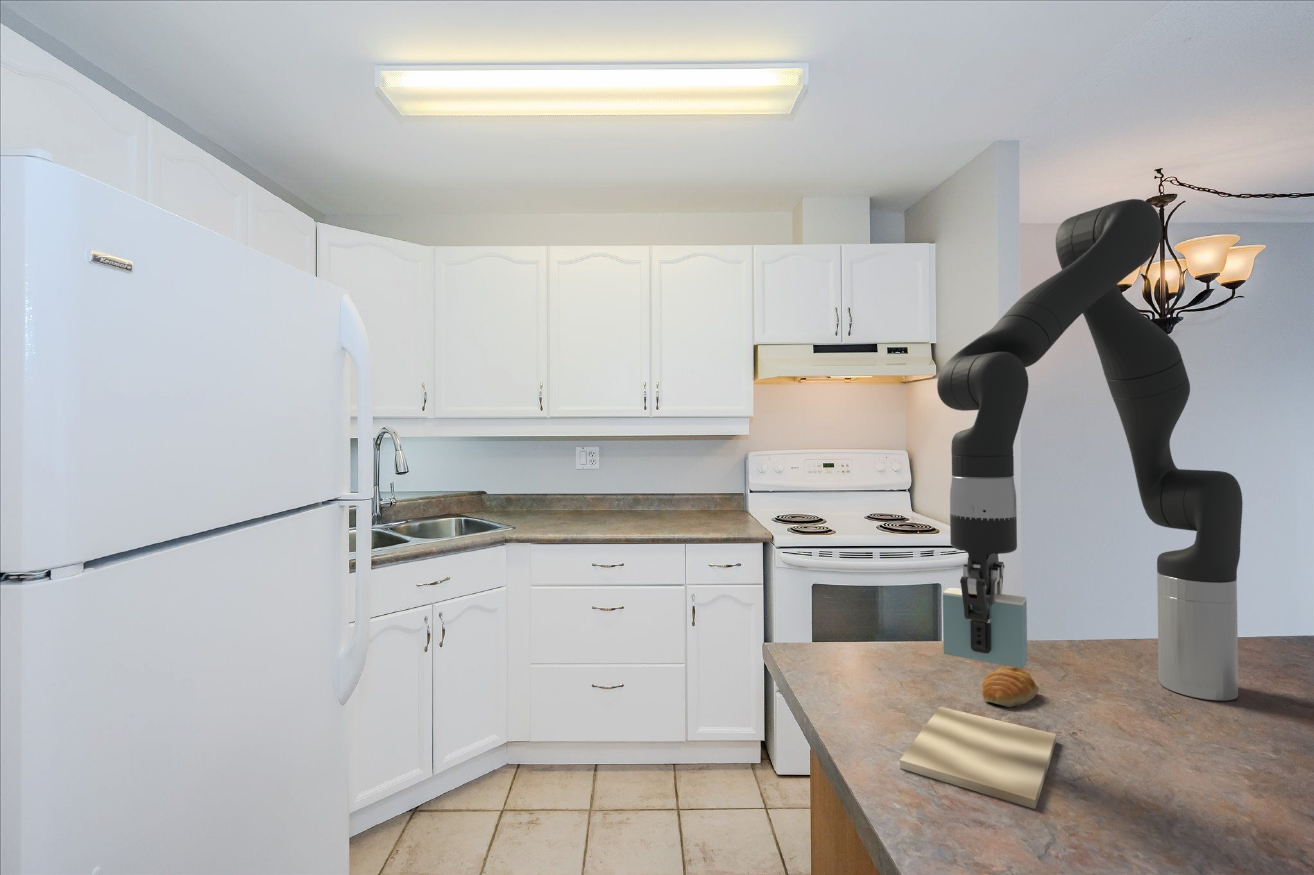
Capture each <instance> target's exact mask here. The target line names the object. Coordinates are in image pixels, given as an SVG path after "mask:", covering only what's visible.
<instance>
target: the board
mask: <svg viewBox="0 0 1314 875" xmlns="http://www.w3.org/2000/svg"><path fill="white" fill-rule="evenodd" d="M1056 744H1057V733H1053V732H1049V731H1045V730H1040V729H1036V728H1032V727H1028V726H1024V725H1019V724H1016V723H1011V722H1007V721H1002V720H997V719H994V718H990V717H985V716H980V715H977V714H973V713H968V712H964V711H960V710H956V709H951V708H947V707H944V706H943V707H942V706H939V707H938V708H937V709H936V711H935V712H934V714H933V715H932V716H931V718H930V719H929V720H928V721H927V723H926V724H925V726H924V727H923V728H922V730H921V731H920V732H919V733H918V735H917V736H916V738H915V739H914V740H913V742H912V743H911V744H910V746H909V747H908V748H907V750H906V751H905V752H904V753H903V755H902V756H901V758H900V759H899V769H902V770H904V771H908V772H912V773H915V774H918V775H921V776H924V777H928V778H931V779H934V780H937V781H940V782H943V783H948V784H949V785H950V784H951V785H953V786H954V785H955V786H958V787H960V788H964V789H968V790H971V791H974V792H977V793H981V794H984V795H986V796H990V797H994V798H996V799H1000V800H1003V801H1007V802H1011V803H1014V804H1016V805H1020V806H1023V807H1027V808H1030V809H1033V810H1036V809H1037V806H1038V802H1039V799H1040V796H1041V793H1042V790H1043V789H1042V788H1043V786H1044V782H1045V780H1046V776H1047V772H1048V770H1049V766H1050V764H1051V763H1050V762H1051V760H1052V758H1053V753H1054V750H1055V747H1056Z"/></svg>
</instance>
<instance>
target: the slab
mask: <svg viewBox="0 0 1314 875" xmlns="http://www.w3.org/2000/svg"><path fill="white" fill-rule="evenodd" d="M986 596H987V597H989V596H990V595H986ZM1027 603H1028V602H1027V597H1026V596H1020V595H1011V594H1003V593H1002V594H997V599H996V603H995V604H993V605H992V621H991V651H990V652H989V653H987V654H986V653H981V652H975V651H973V650H972V649H971V621H969V619H965V616H964V605H963V597H962V589H961V588H955V587H948V588H946V589H945V590H944V591H943V592H942V618H943V620H942V626H943V628H942V629H943V630H942V632H943V633H942V635H943V636H942V637H943V638H942V639H943V655H947V656H952V657H957V658H958V657H959V658H963V659H967V660H973V661H978V662H983V663H988V664H989V663H990V664H994V665H999V666H1004V667H1015V668H1020V669H1023V670H1024V668H1025V667H1026V665H1027V662H1028V626H1027V625H1028V623H1027V622H1028V618H1027V616H1028V614H1027V610H1028V608H1027V605H1028V604H1027ZM975 610H977V611H982V610H981V607H979V606H975Z"/></svg>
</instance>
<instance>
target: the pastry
mask: <svg viewBox="0 0 1314 875" xmlns="http://www.w3.org/2000/svg"><path fill="white" fill-rule="evenodd" d="M1039 691H1040V688H1039V686H1038V685H1037V684H1036V682H1035V680H1034V679H1033V677H1032V676H1031V675H1030V673H1029V672H1028V671H1027V670H1025V669H1024V668H1023V669H1020V668H1015V667H1010V666H1004V665H1001V667H1000V668H997V669H996V670H995V671H992V672H990V673H988V675H987V676H986V677H985V678H984V680H983V681H982V697H983V700H984V702H986V703H992V704H995V705H1000V706H1003V707H1007V708H1012V707H1014V706H1020V705H1021V706H1022V705H1027V703H1028V702H1030V701H1032V700H1033V699H1034V698H1036V696H1037V694H1038V692H1039Z"/></svg>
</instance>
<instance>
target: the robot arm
mask: <svg viewBox="0 0 1314 875" xmlns="http://www.w3.org/2000/svg"><path fill="white" fill-rule="evenodd" d="M1162 227H1163V226H1162V221H1161V218H1160V215H1159V213H1158V211H1157V210H1156V208H1155V207H1154V206H1153V205H1152V204H1151V202H1150V203H1149V202H1148V201H1146V200H1144V199H1138V198H1136V199H1135V198H1132V199H1131V198H1130V199H1124V200H1120V201H1119V200H1118V201H1116V202H1112V203H1110V204H1107V205H1104V206H1100V207H1097V208H1095V209H1091V210H1087V211H1084V212H1081V213H1079V214H1077V215H1073V216H1070V217H1068V218H1067V219H1065V220H1064V221H1063V222H1061V224H1060V225H1059V226H1058V229H1057V232H1056V236H1055V253H1056V257H1057V259H1058V262H1059V266H1060V268H1061V270H1060V271H1058V272H1057V273H1055V274H1054V275H1052V276H1050V277H1049V278H1047V279H1046V280H1043V281H1042V282H1041V283H1039V284H1038V285H1036V286H1035V287H1033V288H1032V289H1030V290H1029V291H1028V292H1027V293H1025V294H1024V295H1023V296H1022V297H1020V298H1019V299H1018V300H1017V301H1016V302H1015V303H1014V304H1013V305H1012V306H1010V308H1009V309H1008V310H1007V311H1006V312H1005V314H1003V315H1002V317H1001V318H1000V319H999V320H998V321H997V322H996V323H995V325H993V327H992V328H991V329H990V330H988V331H986V332H985V333H983V334H982V335H980V336H978V337H977V338H976V339H974V340H972V342H970V343H969V344H967V345H966V346H964V347H963V348H961V349H960V350H959V351H957V352H956V353H955V354H954V355H953V356H952V357H950V359H948V361H947V362H945V364H944V365H943V367H942V369H941V370H940V373H939V375H938V378H937V384H936V388H937V389H936V390H937V394H938V397H939V399H940V400H941V402H942V403H943V404H944V405H945V406H947V407H948V408H950V409H953V410H954V411H964V412H966V411H967V412H968V411H977V415H976V416H975V417H976V418H975V419H974V420H975V421H974V423H973V425H972V426H971V427H969V428H967V429H964V430H961V431H960V430H959V431H958V432H956V433H955V434H954V435H953V437H952V439H951V481H950V491H949V519H950V521H949V522H950V524H949V526H950V528H949V531H950V532H949V534H950V545H951V547H952V548H954V549H955V550H958V551H964V552H966V553H967V563H964V564H963V566H962V567H963V568H962V570H963V571H962V576H961V577H960V580H959V582H960V587H961V588H960V589H962V597H963V605H964V616H965V619H969V621H971V649H972V650H973V651H975V652H981V653H986V654H987V653H989V652H990V651H991V621H992V605H993V604H995V603H996V599H997V594H1003V588H1004V587H1003V583H1004V582H1003V581H1004V574H1005V573H1004V571H1005V570H1004V569H1005V563H1004V561H999V560H1000V559H999V555H1001V554H1002V555H1003V554H1010V553H1013V552H1015V551H1016V550H1017V549H1018V531H1017V529H1018V528H1017V527H1018V525H1017V524H1018V523H1017V521H1018V518H1017V517H1018V514H1017V492H1016V486H1015V478H1014V476H1015V473H1014V472H1015V470H1014V469H1015V468H1014V465H1015V464H1014V461H1015V459H1014V444H1015V440H1016V436H1017V433H1018V430H1019V426H1020V423H1021V419H1022V415H1023V412H1024V408H1025V406H1026V402H1027V398H1028V393H1029V386H1030V385H1029V376H1028V371H1027V369H1026V368H1028V367H1030V366H1032V365H1035V364H1036V363H1038V361H1040V360H1041V359H1042V357H1043V356H1044V355H1046V353H1047V352H1048V351H1049V350H1050V349H1051V348H1052V347H1053V345H1054V344H1055V343H1056V342H1057V340H1058V339H1060V337H1061V336H1062V335H1063V334H1064V332H1066V331H1067V329H1069V327H1070V326H1071V325H1073V323H1074V322H1075V321H1076V320H1077V319H1078V318H1079V317H1080V316H1081V315H1083V317H1084V319H1085V322H1086V325H1087V327H1088V329H1089V332H1090V334H1091V335H1090V336H1091V337H1092V340H1093V343H1094V346H1095V348H1096V351H1097V354H1098V356H1099V360H1100V363H1101V368H1102V371H1103V374H1104V377H1105V380H1106V383H1107V386H1108V389H1109V392H1110V394H1111V398H1112V399H1113V402H1114V405H1115V407H1116V410H1117V413H1118V416H1119V418H1120V421H1121V424H1122V427H1123V431H1124V433H1125V438H1126V440H1127V444H1128V447H1129V451H1130V456H1131V459H1132V464H1133V468H1134V474H1135V477H1136V482H1137V488H1138V493H1139V497H1140V501H1141V503H1142V507H1143V509H1144V512H1145V514H1146V515H1147V517H1148V519H1149V520H1151V521H1152V523H1154V524H1156V525H1157V526H1160V527H1163V528H1169V529H1175V530H1176V529H1177V530H1184V531H1191V532H1196V535H1195V540H1194V543H1193V544H1192V545H1190V546H1188V547H1186V548H1182V549H1176V550H1169V551H1165V552H1162V553H1161V552H1160V554H1159V555H1158V556H1157V560H1156V585H1157V586H1156V587H1157V589H1156V590H1157V591H1156V592H1157V654H1158V656H1157V658H1158V659H1157V660H1158V661H1157V662H1158V664H1157V665H1158V666H1157V669H1158V683H1159V684H1160V685H1161V686H1162V687H1164V688H1165V689H1167V690H1170V691H1171V692H1175V693H1178V694H1181V695H1182V696H1183V695H1184V696H1188V697H1192V698H1196V699H1197V698H1198V699H1201V700H1209V701H1222V702H1223V701H1231V700H1232V701H1233V700H1236V699H1237V698H1238V696H1239V657H1238V656H1239V646H1238V644H1239V642H1238V636H1239V635H1238V592H1237V591H1238V585H1237V584H1238V583H1237V581H1238V580H1237V579H1238V576H1237V574H1238V572H1237V571H1238V566H1239V561H1240V557H1241V539H1242V538H1241V536H1242V534H1241V533H1242V523H1243V522H1242V520H1243V502H1244V501H1243V493H1242V490H1241V486H1240V484H1239V481H1238V480H1237V478H1236V477H1235V476H1234V475H1233V474H1232V473H1229V472H1227V471H1222V470H1208V469H1207V470H1204V469H1203V470H1202V469H1181V468H1178V467H1177V466H1176V464H1175V462H1174V459H1173V456H1172V452H1171V444H1170V443H1171V438H1172V434H1173V432H1174V429H1175V427H1176V425H1177V423H1178V422H1179V420H1180V417H1181V415H1182V413H1183V412H1184V409H1185V407H1186V405H1187V403H1188V401H1189V397H1190V392H1191V384H1190V380H1189V379H1190V378H1189V375H1188V373H1187V370H1186V367H1185V364H1184V360H1183V357H1182V354H1181V350H1180V348H1179V347H1178V345H1177V342H1175V340H1173V339H1172V338H1171V336H1169V335H1168V334H1167V333H1166V332H1165V331H1164V330H1163V329H1162V328H1161V327H1159V326H1158V325H1157V324H1156V323H1154V322H1153V321H1152V320H1150V319H1149V318H1148V317H1146V316H1145V314H1143V313H1141V312H1140V311H1139V310H1138V309H1137V308H1136V307H1134V306H1133V305H1132V304H1131V303H1130V302H1129V300H1127V298H1126V297H1125V296H1124V295H1123V293H1122V290H1121V289H1120V287H1119V286H1118V284H1119V283H1120V282H1122V281H1123V280H1124V279H1126V278H1127V277H1128V276H1129V275H1131V274H1132V273H1133V272H1135V271H1136V270H1137V269H1139V268H1140V267H1141V266H1143V265H1144V264H1145V263H1146V262H1148V260H1150V259H1151V258H1152V257H1153V255H1154V254H1155V252H1156V251H1157V250H1158V247H1159V245H1160V243H1161V239H1162V233H1163V232H1162V231H1163V228H1162ZM986 595H990V596H989V597H987V596H986ZM975 606H979V607H981V610H982V611H977V610H975Z"/></svg>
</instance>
